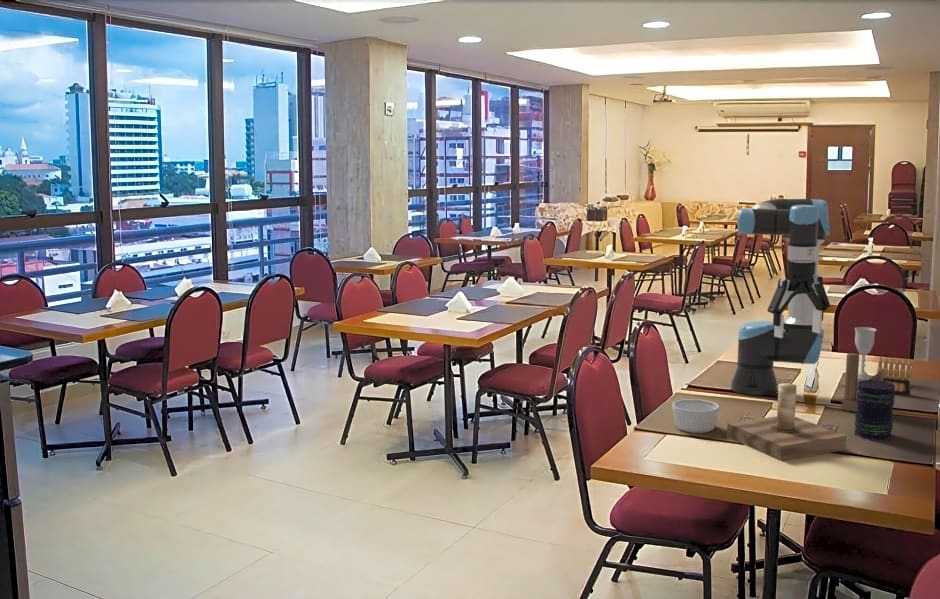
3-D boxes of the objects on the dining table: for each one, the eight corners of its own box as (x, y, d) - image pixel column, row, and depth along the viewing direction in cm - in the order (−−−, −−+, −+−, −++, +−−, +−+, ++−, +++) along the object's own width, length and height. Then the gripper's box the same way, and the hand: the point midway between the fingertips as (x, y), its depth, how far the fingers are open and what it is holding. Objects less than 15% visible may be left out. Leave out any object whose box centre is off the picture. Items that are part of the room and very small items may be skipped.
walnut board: (726, 436, 256) (727, 423, 255) (788, 427, 264) (789, 414, 264) (780, 460, 236) (781, 445, 235) (845, 450, 244) (846, 435, 243)
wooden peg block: (878, 416, 275) (882, 358, 272) (841, 410, 282) (844, 354, 279) (881, 413, 278) (885, 356, 275) (844, 408, 284) (848, 352, 282)
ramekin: (689, 436, 256) (690, 413, 255) (662, 424, 268) (663, 401, 267) (727, 431, 262) (728, 407, 260) (698, 419, 273) (699, 396, 272)
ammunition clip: (874, 391, 304) (877, 356, 302) (875, 390, 306) (878, 355, 304) (909, 396, 298) (912, 360, 296) (910, 394, 300) (913, 359, 298)
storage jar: (899, 439, 253) (903, 387, 250) (867, 441, 251) (870, 389, 249) (877, 429, 262) (881, 379, 260) (846, 431, 261) (850, 380, 259)
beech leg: (771, 440, 251) (774, 384, 249) (785, 438, 253) (788, 382, 250) (783, 445, 247) (786, 388, 244) (797, 443, 249) (800, 386, 246)
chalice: (874, 377, 322) (878, 328, 319) (871, 381, 317) (874, 331, 314) (852, 375, 326) (855, 326, 323) (849, 379, 321) (852, 329, 318)
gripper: (775, 265, 244) (771, 341, 248) (846, 259, 254) (841, 333, 258) (756, 262, 251) (753, 336, 255) (826, 256, 260) (822, 328, 264)
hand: (797, 334), depth 256 cm, fingers open, 13 cm apart
